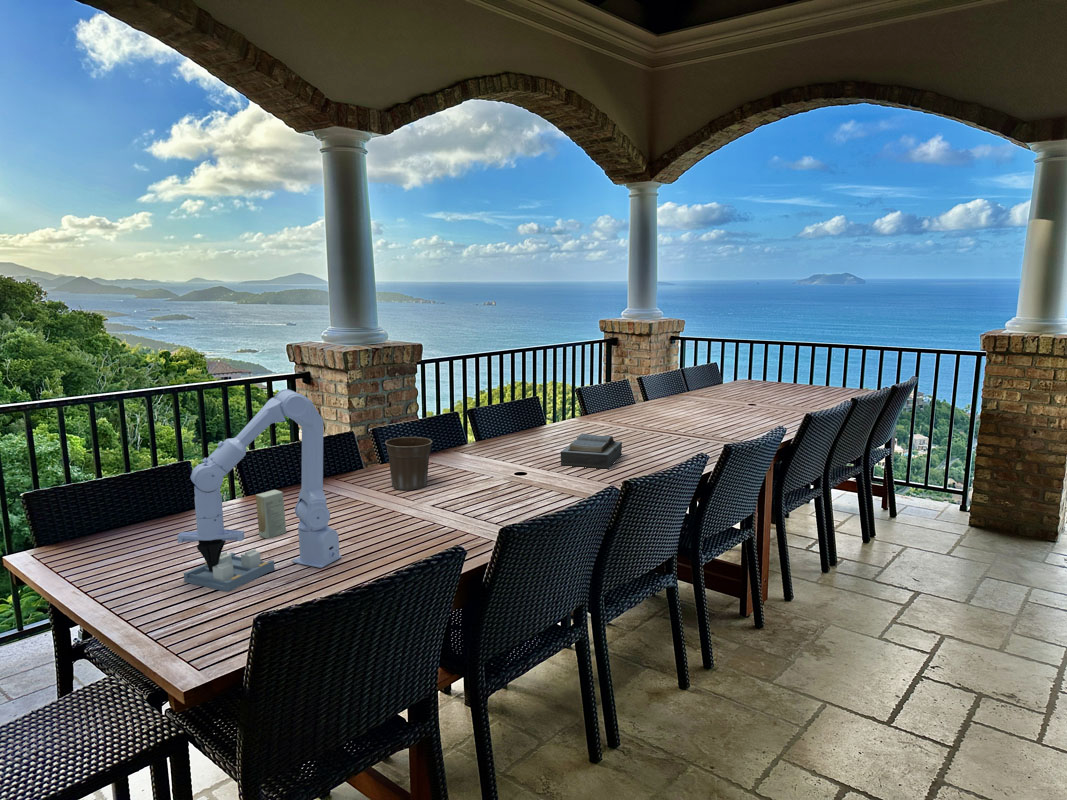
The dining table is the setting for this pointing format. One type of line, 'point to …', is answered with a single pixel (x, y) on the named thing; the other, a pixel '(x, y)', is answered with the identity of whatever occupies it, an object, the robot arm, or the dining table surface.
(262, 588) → the dining table surface
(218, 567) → the tab
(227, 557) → the tab
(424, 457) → the plant pot
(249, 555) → the tab
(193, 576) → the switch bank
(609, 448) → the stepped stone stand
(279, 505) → the skincare box
